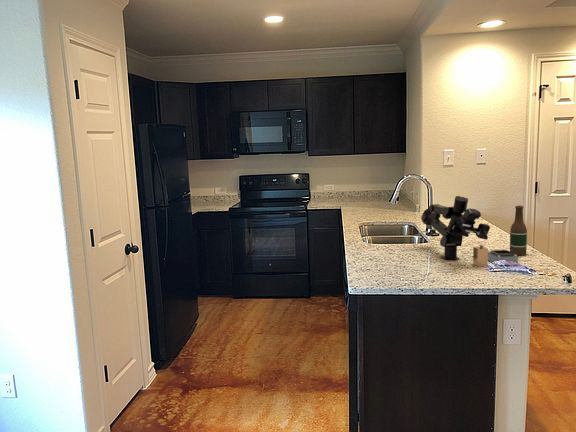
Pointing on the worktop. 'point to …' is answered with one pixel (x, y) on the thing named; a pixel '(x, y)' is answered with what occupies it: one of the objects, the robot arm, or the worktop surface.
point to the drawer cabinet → (502, 256)
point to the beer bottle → (518, 234)
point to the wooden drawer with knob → (480, 256)
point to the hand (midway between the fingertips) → (477, 237)
